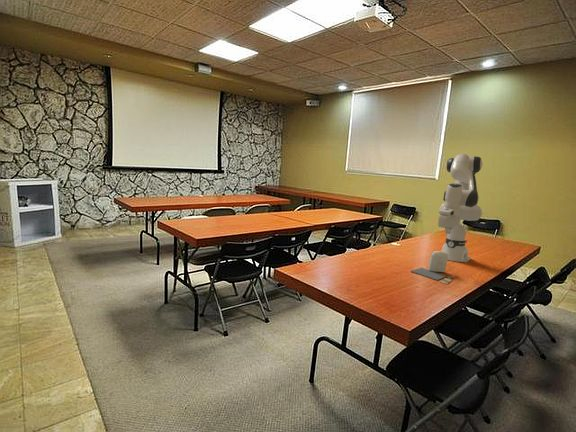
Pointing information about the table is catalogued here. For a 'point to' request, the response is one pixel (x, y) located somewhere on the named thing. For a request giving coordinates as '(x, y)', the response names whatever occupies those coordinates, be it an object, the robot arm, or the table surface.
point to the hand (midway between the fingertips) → (447, 233)
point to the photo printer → (438, 261)
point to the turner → (447, 280)
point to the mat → (429, 274)
